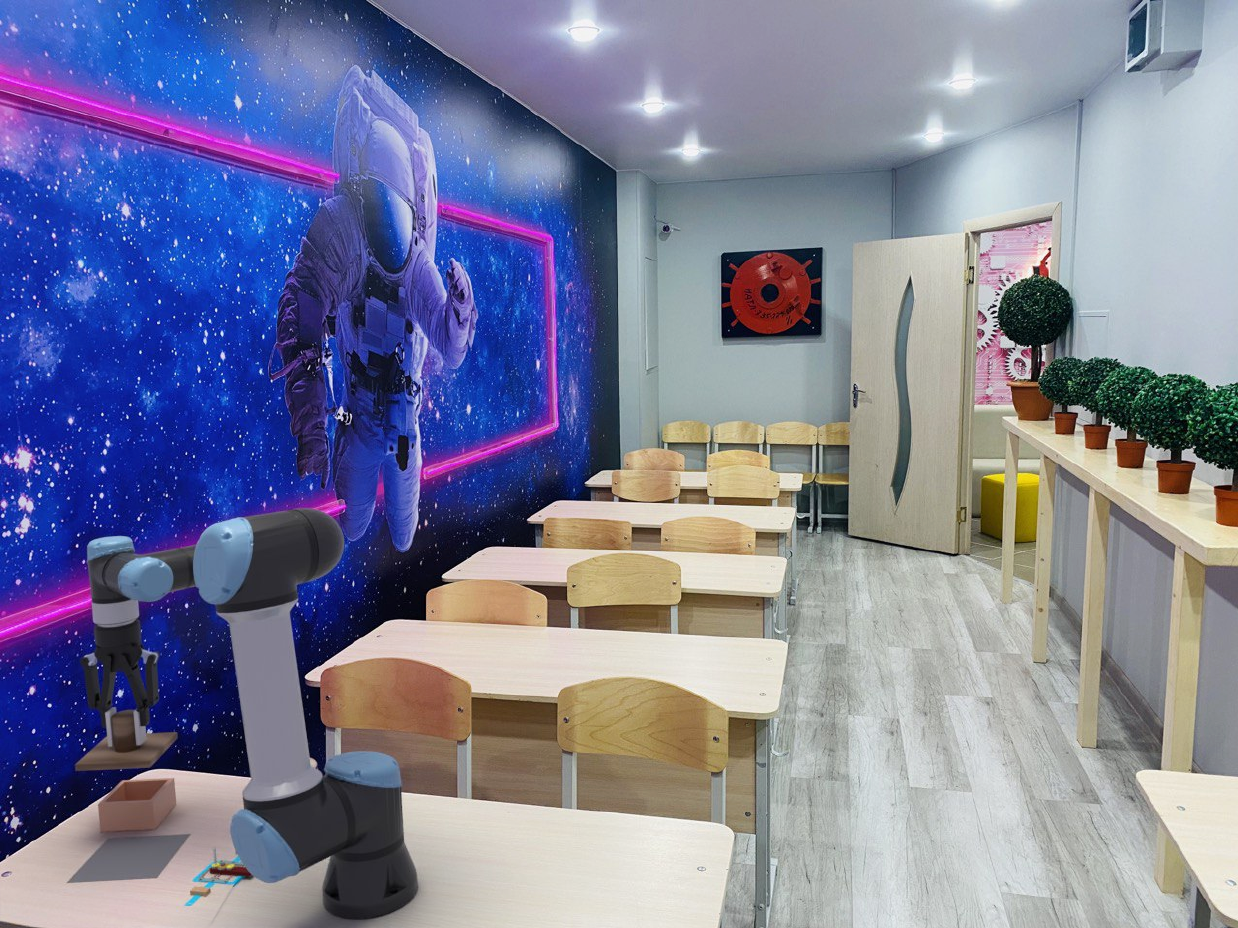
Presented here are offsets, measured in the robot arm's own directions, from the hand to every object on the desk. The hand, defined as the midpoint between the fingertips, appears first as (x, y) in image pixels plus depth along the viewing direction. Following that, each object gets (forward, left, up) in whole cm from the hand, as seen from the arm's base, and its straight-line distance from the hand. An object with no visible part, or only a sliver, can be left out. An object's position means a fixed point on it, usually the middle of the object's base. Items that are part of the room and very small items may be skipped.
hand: (127, 742), depth 181 cm
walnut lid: (0, 0, -2) cm, 2 cm away
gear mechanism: (-18, -23, -18) cm, 34 cm away
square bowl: (+4, +1, -17) cm, 18 cm away
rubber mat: (-11, -4, -17) cm, 21 cm away
